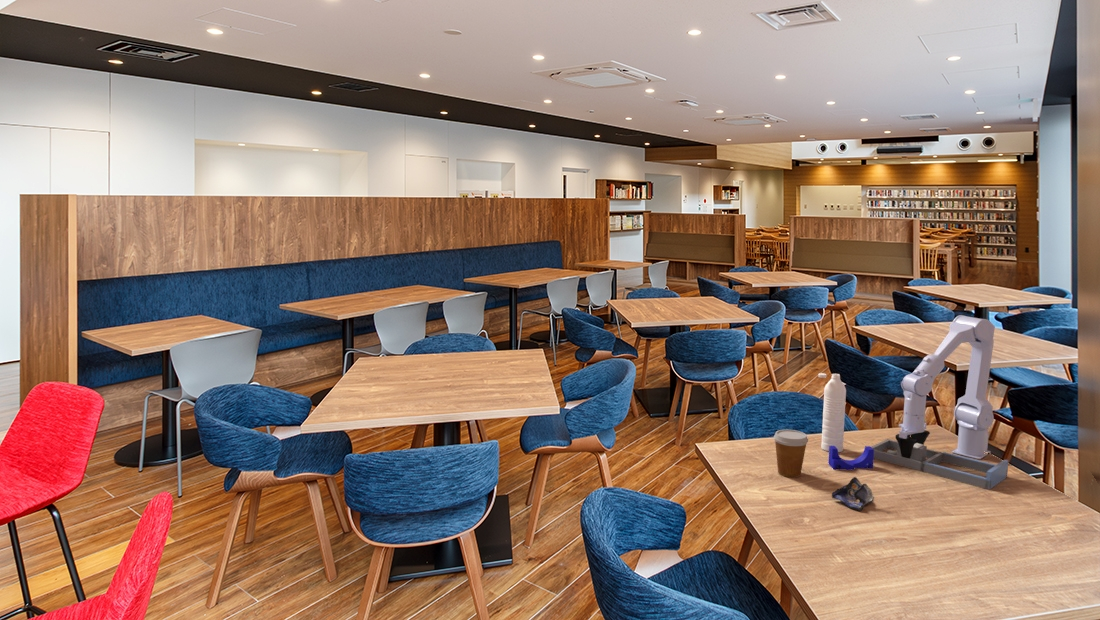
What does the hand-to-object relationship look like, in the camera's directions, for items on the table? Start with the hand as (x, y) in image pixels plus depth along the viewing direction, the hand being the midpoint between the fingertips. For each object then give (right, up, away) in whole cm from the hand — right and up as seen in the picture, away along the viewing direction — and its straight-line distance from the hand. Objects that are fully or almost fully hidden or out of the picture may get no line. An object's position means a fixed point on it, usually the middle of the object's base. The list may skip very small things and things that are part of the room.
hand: (911, 455), depth 207 cm
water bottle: (-21, 0, +10) cm, 24 cm away
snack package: (-30, -6, -29) cm, 42 cm away
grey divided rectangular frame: (+4, -2, -5) cm, 7 cm away
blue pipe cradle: (-21, -3, -5) cm, 21 cm away
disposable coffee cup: (-41, -3, -9) cm, 42 cm away
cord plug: (-1, -1, +2) cm, 2 cm away
